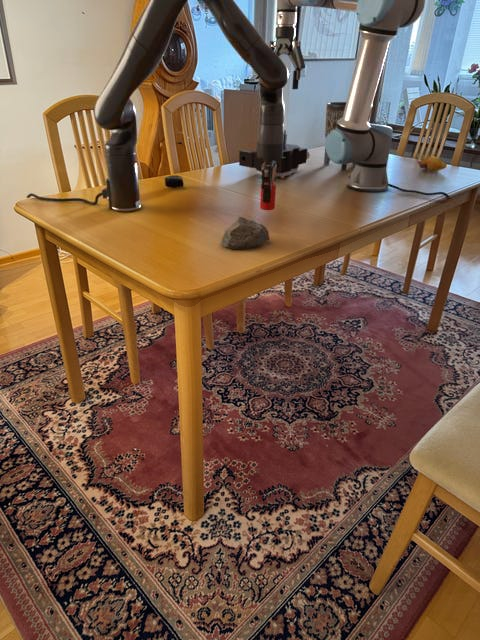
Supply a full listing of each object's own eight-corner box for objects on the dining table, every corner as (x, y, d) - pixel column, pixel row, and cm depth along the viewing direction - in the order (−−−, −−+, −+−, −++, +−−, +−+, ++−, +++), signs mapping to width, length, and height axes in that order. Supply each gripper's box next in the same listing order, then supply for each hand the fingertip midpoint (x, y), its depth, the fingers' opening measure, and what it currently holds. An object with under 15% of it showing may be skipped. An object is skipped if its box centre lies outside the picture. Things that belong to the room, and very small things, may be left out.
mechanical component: (240, 120, 182) (283, 115, 202) (239, 174, 192) (280, 164, 212) (283, 126, 170) (325, 120, 190) (280, 183, 180) (320, 171, 200)
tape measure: (165, 189, 168) (164, 179, 167) (165, 185, 174) (164, 175, 172) (183, 189, 169) (183, 179, 168) (183, 184, 175) (182, 174, 173)
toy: (420, 164, 201) (414, 157, 214) (422, 178, 204) (416, 170, 217) (447, 156, 198) (439, 149, 211) (449, 170, 201) (441, 162, 213)
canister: (266, 211, 137) (267, 186, 133) (257, 207, 140) (257, 183, 136) (277, 209, 139) (279, 184, 135) (268, 205, 142) (269, 181, 138)
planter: (313, 167, 208) (319, 103, 195) (331, 160, 222) (338, 101, 209) (353, 173, 199) (362, 107, 185) (369, 166, 213) (379, 104, 199)
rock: (255, 233, 128) (256, 211, 124) (276, 242, 122) (278, 219, 119) (217, 244, 120) (217, 220, 117) (239, 254, 115) (239, 230, 111)
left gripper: (280, 145, 123) (277, 207, 131) (285, 137, 135) (282, 195, 144) (253, 143, 124) (251, 205, 133) (261, 136, 136) (258, 193, 145)
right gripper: (255, 26, 179) (253, 86, 190) (305, 24, 164) (300, 90, 175) (267, 27, 184) (265, 86, 194) (317, 26, 169) (312, 89, 179)
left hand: (267, 199), depth 138 cm, fingers closed on canister, 4 cm apart
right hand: (282, 88), depth 185 cm, fingers open, 13 cm apart
